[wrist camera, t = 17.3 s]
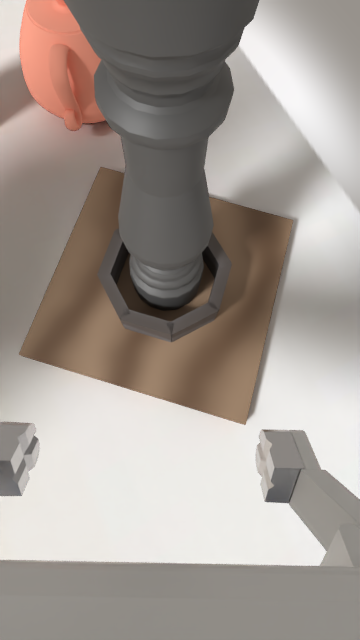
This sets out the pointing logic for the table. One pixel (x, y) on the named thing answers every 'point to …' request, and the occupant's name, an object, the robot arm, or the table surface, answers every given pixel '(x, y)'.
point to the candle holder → (164, 125)
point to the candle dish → (163, 326)
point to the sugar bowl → (59, 63)
